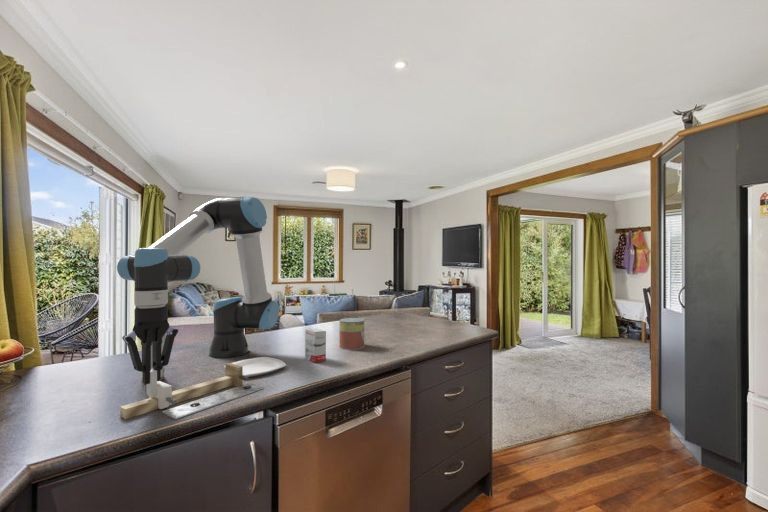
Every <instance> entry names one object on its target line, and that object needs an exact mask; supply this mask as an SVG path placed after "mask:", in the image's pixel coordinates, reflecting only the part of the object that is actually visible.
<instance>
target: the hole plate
mask: <svg viewBox="0 0 768 512" xmlns="http://www.w3.org/2000/svg"><path fill="white" fill-rule="evenodd" d="M264 389H265V387H264V386H262V385H258V384H254V383H252V382H248V383H244V384H243V385H242V386H238V387H236V386H234V387H233V388H230V389H227V390H222V391H220V392H218V393H214V394H211V395H209V396H205V397H203V398H202V397H201V398H199V399H196V400H193V401H190V402H187V403H184V404H181V405H177V406H175V407H171V408H169V409H165V410H162V411H161V413H162V414H163V415H165V416H167V417H169V418H171V419H173V420H179V419H182V418H185V417H187V416H190V415H193V414H196V413H199V412H202V411H204V410H206V409H207V410H208V409H210V408H213V407H215V406H219V405H221V404H224V403H227V402H230V401H233V400H236V399H238V398H239V399H240V397H244V396H246V395H250V394H252V393H256V392H258V391H261V390H264Z"/></svg>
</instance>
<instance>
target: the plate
mask: <svg viewBox="0 0 768 512" xmlns="http://www.w3.org/2000/svg"><path fill="white" fill-rule="evenodd" d="M231 363H232V364H235V365H239V366H242V367H243V376H246V377H248V378H250V377H258V376H262V375H266V374H269V373H273V372H276V371H279V370H280V369H281V368H284V367H287V364H286V363H285V362H284V361H283V360H281V359H278V358H275V357H268V356H260V357H259V356H257V357H252V358H246V359H240V360H238V361H234V362H231ZM223 366H224V368H225V364H224V365H223Z"/></svg>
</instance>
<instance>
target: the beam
mask: <svg viewBox="0 0 768 512" xmlns="http://www.w3.org/2000/svg"><path fill="white" fill-rule="evenodd" d="M232 363H233V362H228V363H225V364H224V365H225V367H224V369H225V370H224V371H225V372H224V373H225V375H224V376H222V377H217V378H213V379H210V380H207V381H204V382H201V383H195V384H193V385H190V386H185V387H183V388H182V387H181V388H180V389H176V390H172V398H173V399H175V400H177V403H176V404H179V403H182V402H185V401H187V400H191V399H193V398H194V399H195V398H197V397H200V396H203V395H207V394H209V393H213V392H217V391H219V390H222V389H224V388H229V387H232V386H234V387H238V386H242V385H244V384H243V381H246V382H247V381H249V377H246V376H243V367H242V366H239V365H235V364H232ZM172 405H173V404H172V403H170V402H169V406H172ZM119 409H120V414H119V415H120V417H121V418H122V419H124V420H127V419H128V420H129V419H131V418H134V417H137V416H140V415H144V414H147V413H149V412H153V411H157V410H159V408H158V399H157V398H155V397H151V398H149V397H148V398H145V399H142V400H141V399H140V400H138V401H134V402H131V403H128V404H125V405H121V406H120V408H119Z"/></svg>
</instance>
